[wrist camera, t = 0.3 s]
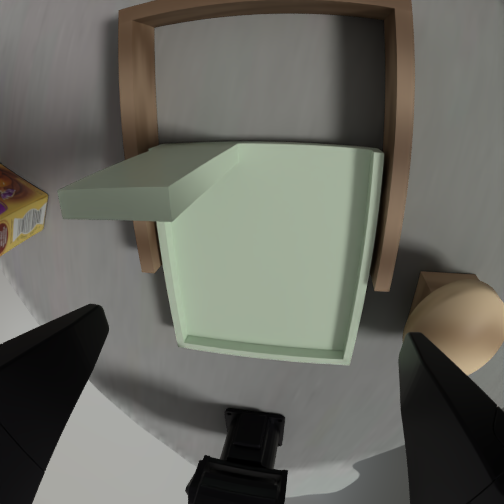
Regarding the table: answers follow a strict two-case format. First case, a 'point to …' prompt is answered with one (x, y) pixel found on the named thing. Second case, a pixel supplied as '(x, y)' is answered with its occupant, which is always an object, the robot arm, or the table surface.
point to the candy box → (19, 210)
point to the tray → (252, 240)
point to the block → (435, 284)
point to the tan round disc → (461, 322)
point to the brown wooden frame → (248, 3)
